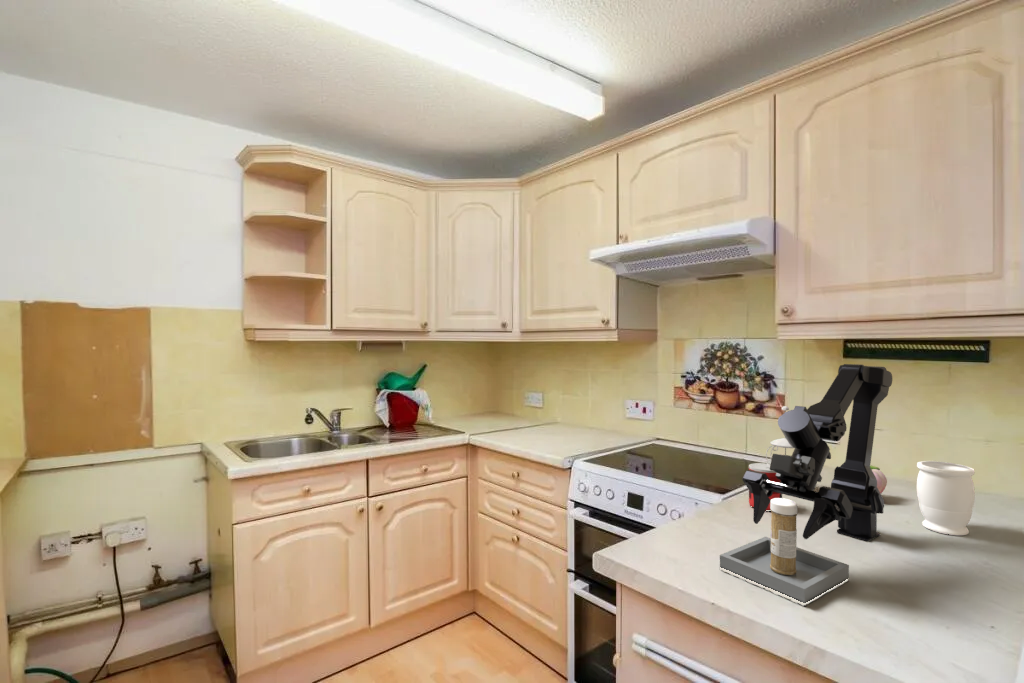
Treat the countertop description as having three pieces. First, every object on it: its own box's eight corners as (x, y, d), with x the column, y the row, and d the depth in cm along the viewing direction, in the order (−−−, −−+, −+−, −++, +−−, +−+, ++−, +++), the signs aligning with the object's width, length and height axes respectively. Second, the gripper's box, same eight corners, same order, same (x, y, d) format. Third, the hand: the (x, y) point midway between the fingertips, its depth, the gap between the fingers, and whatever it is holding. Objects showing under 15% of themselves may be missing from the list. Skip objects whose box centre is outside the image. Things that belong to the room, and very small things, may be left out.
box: (848, 580, 93) (848, 564, 93) (804, 606, 84) (804, 589, 84) (765, 550, 106) (765, 536, 106) (719, 570, 98) (719, 554, 98)
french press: (785, 496, 142) (784, 409, 142) (755, 484, 153) (754, 403, 153) (812, 493, 145) (812, 407, 145) (781, 482, 156) (781, 402, 156)
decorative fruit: (857, 492, 145) (857, 457, 145) (890, 499, 139) (890, 463, 139) (843, 498, 140) (843, 462, 140) (877, 506, 133) (877, 469, 133)
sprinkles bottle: (768, 563, 98) (768, 496, 98) (794, 567, 97) (794, 498, 97) (771, 574, 94) (772, 503, 94) (799, 578, 92) (799, 506, 92)
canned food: (788, 512, 129) (787, 470, 129) (757, 512, 129) (756, 470, 129) (773, 502, 137) (773, 462, 137) (743, 502, 137) (743, 462, 137)
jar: (916, 518, 125) (916, 458, 124) (973, 527, 118) (972, 464, 118) (916, 530, 116) (916, 466, 116) (976, 542, 110) (976, 474, 110)
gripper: (746, 431, 105) (716, 493, 99) (845, 446, 90) (817, 521, 83) (766, 462, 110) (738, 524, 103) (864, 482, 94) (838, 555, 88)
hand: (778, 529), depth 94 cm, fingers open, 9 cm apart
